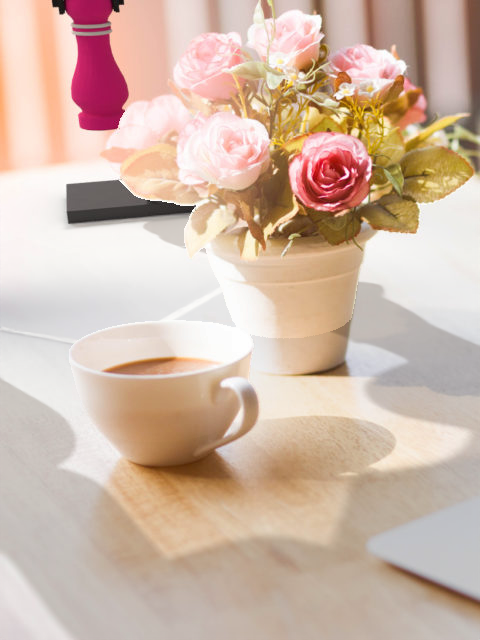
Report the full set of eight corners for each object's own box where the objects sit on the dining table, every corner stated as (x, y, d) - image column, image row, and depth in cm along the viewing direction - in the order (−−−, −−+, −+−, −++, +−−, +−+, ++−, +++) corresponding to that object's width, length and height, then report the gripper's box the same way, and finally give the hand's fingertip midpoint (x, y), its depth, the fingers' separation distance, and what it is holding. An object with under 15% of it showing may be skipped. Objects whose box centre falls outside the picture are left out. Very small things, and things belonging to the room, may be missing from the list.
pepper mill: (63, 129, 156) (41, -29, 148) (100, 118, 162) (80, -34, 154) (108, 133, 153) (87, -27, 145) (143, 122, 159) (125, -32, 152)
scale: (68, 225, 151) (64, 198, 150) (67, 195, 164) (64, 171, 163) (196, 213, 156) (193, 187, 155) (186, 185, 169) (183, 161, 168)
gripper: (-8, -138, 139) (16, 19, 146) (144, -138, 144) (161, 13, 151) (-4, -139, 146) (18, 11, 152) (141, -139, 151) (156, 6, 158)
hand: (89, 10), depth 152 cm, fingers closed on pepper mill, 6 cm apart
